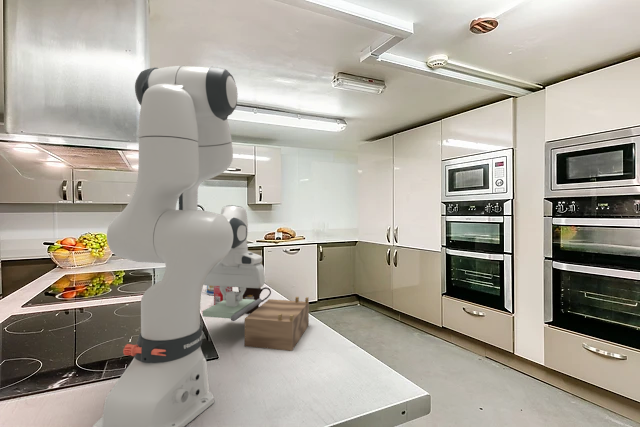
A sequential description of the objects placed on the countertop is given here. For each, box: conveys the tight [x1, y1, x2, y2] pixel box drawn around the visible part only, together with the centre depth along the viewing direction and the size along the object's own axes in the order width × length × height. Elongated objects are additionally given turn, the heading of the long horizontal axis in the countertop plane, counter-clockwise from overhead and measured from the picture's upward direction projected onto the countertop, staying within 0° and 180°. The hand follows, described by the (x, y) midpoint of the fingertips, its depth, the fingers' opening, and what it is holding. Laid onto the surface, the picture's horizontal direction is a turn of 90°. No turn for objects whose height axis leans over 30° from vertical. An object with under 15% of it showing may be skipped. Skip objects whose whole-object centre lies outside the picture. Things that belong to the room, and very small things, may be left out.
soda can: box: [213, 286, 233, 305], centre depth 131 cm, size 7×7×13 cm
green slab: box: [202, 290, 263, 322], centre depth 104 cm, size 20×12×6 cm, turn 169°
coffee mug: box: [237, 286, 272, 315], centre depth 125 cm, size 12×9×10 cm
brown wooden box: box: [244, 296, 310, 352], centre depth 102 cm, size 20×14×10 cm
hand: (232, 300), depth 104 cm, fingers closed on green slab, 3 cm apart
